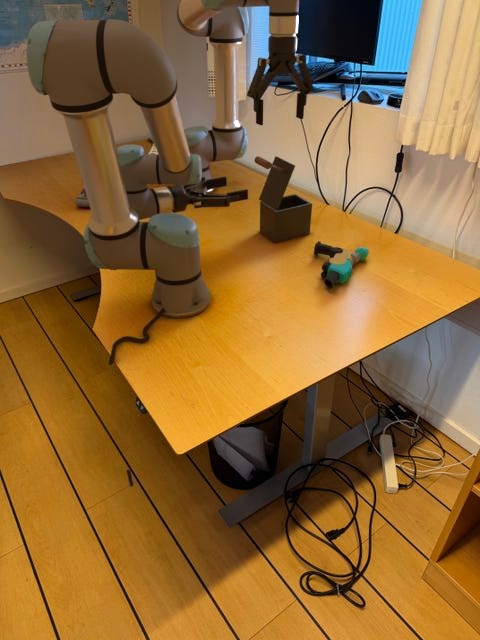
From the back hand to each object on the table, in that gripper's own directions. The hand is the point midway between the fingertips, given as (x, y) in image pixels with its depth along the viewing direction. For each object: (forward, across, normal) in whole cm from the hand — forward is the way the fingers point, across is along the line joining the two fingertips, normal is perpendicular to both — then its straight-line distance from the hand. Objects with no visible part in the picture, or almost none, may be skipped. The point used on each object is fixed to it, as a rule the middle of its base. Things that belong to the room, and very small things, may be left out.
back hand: (279, 121), depth 136 cm
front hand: (+17, +14, -1) cm, 22 cm away
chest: (+36, -4, 0) cm, 36 cm away
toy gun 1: (+36, +43, -56) cm, 79 cm away
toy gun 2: (+36, -2, +28) cm, 45 cm away
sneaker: (+36, +8, -89) cm, 96 cm away
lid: (+18, 0, 0) cm, 18 cm away
